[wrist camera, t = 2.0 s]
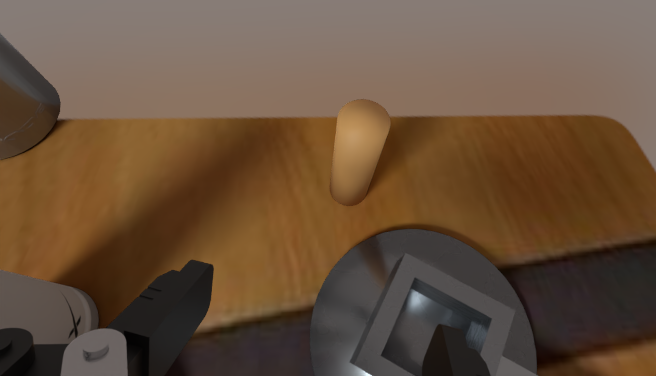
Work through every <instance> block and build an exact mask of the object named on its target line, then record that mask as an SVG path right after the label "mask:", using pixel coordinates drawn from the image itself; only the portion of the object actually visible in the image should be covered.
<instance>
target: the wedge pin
mask: <svg viewBox="0 0 656 376" xmlns="http://www.w3.org/2000/svg"><path fill="white" fill-rule="evenodd" d="M390 124H391V123H390V117H389V115H388V113H387V111H386V110H385V109H384V108H383V107H382V106H381V105H379V104H378V103H376V102H373V101H370V100H364V99H361V100H354V101H351V102H349V103H347V104H346V105H345V106H343V107H342V109H341V110H340V112H339V114H338V119H337V128H336V137H335V145H334V154H333V163H332V172H331V181H330V193H331V195H332V197H333V198H334V200H335V201H337V202H338V203H340V204H342V205H346V206H353V205H356V204H358V203H360V202H361V201H362V200H363V199H364V198H365V196H366V194H367V191H368V188H369V185H370V182H371V180H372V177H373V174H374V171H375V168H376V166H377V163H378V160H379V157H380V154H381V152H382V149H383V146H384V143H385V141H386V138H387V135H388V132H389V129H390Z"/></svg>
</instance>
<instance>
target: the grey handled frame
mask: <svg viewBox="0 0 656 376" xmlns="http://www.w3.org/2000/svg"><path fill="white" fill-rule="evenodd" d="M438 324H442V325H446V326H450V327H454V328H458V329H461V330H462V331H463V333H464V336H465V339H466V343H467V346H468V348H472V349H476V350H477V352H478V353H479V354H480V356H481V357H482V358H483V360H484V361H485V362H486V364H487V366H488V369H489V372H490V375H491V376H538V375H536V374H537V361H536V349H535V343H534V338H533V333H532V330H531V326H530V323H529V320H528V317H527V315H526V313H525V310H524V308H523V305H522V303H521V302H520V300H519V298H518V296H517V294H516V293H515V291H514V289H513V288H512V287H511V285H510V284H509V282H508V281H507V279H506V278H505V277H504V276H503V275H502V274H501V272H500V271H499V270H498V269H497V268H496V267H495V266H494V265H493V264H492V263H491V262H490V261H489V260H488V259H487V258H486V257H484V256H483V255H482V254H480V253H479V252H478V251H476V250H475V249H473V248H472V247H470V246H468V245H467V244H465V243H463V242H461V241H459V240H457V239H455V238H452V237H450V236H447V235H444V234H441V233H438V232H433V231H428V230H420V229H403V230H394V231H389V232H385V233H382V234H379V235H376V236H373V237H371V238H369V239H367V240H365V241H363V242H361V243H360V244H358V245H357V246H355V247H354V248H353V249H351V250H350V251H349V252H348V253H347V254H345V255H344V256H343V257H342V258H341V259H340V260H339V261H338V263H337V264H336V265H335V266H334V267H333V269H332V270H331V272H330V273H329V275H328V276H327V278H326V279H325V281H324V283H323V285H322V287H321V290H320V292H319V294H318V297H317V300H316V303H315V306H314V310H313V315H312V321H311V330H310V350H311V360H312V365H313V371H314V375H315V376H422V365H423V360H424V356H425V354H426V351H427V349H428V346H429V344H430V341H431V339H432V336H433V334H434V331H435V329H436V327H437V325H438Z"/></svg>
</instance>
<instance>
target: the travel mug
mask: <svg viewBox="0 0 656 376" xmlns="http://www.w3.org/2000/svg"><path fill="white" fill-rule="evenodd" d="M98 323H99V317H98V311H97V308H96V305H95V303H94V301H93V300H92V298H91V297H90V296H89V295H88V294H86V293H85V292H84V291H82V290H80V289H77V288H73V287H69V286H65V285H61V284H57V283H53V282H49V281H45V280H41V279H36V278H32V277H28V276H24V275H20V274H16V273H12V272H8V271H3V270H0V329H4V328H22V329H25V330H27V331H29V332H30V333H31V334H32V336H33V342H34V344H70V343H71V342H72V341H73V340H74V339H75V338H77V337H78V336H80V335H82V334H84V333H86V332H89V331H92V330H96V329H98Z"/></svg>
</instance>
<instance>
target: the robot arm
mask: <svg viewBox="0 0 656 376" xmlns="http://www.w3.org/2000/svg"><path fill="white" fill-rule="evenodd" d="M59 112H60V99H59V95H58V93H57V91H56V90H55V88H54V87H53V86H52V85H51V84H50V83H49V82H48V81H47V80H46V79H45V78H44V77H43V76H42V75H41V74H40V73H39V72H38V71H37V70H36V69H35V68H34V67H33V66H32V65H31V64H30V63H29V62H28V61H27V60H26V59H25V58H24V57H23V56H22V55H21V54H20V53H19V52H18V51H17V50H16V49H15V48H14V47H13V46H12V45H11V44H10V43H9V42H8V41H7V40H6V39H5V38H4V37H3V36H2V35H1V34H0V160H1V159H5V158H9V157H12V156H15V155H17V154H19V153H22V152H24V151H26V150H27V149H29V148H31V147H32V146H34V145H35V144H37V143H38V142H39V141H40V140H42V139H43V138H44V137H45V136H46V135H47V134H48V132H49V131H50V130H51V129H52V127H53V126H54V124H55V122H56V121H57V118H58V115H59ZM213 271H214V267H213V265H211V264H208V263H204V262H200V261H196V260H190V261H189V262H188V263H187V264H186V265H185V266H184V267H183V268H182V270H181V271H180V272H179V271H175V270H171V271H169V272H167V273H165V274H163V275H161V276H159V277H157V278H156V279H155V280H154V281H153V282H152V283H151V284H150V285H149V286H148V288H147V289H145V290H144V291H143V292H142V293H141V294H140V296H139V297H137V298H136V299H135V300H134V301H133V302H132V303H131V304H130V305H129V306H128V307H127V308H126V309H125V310H124V311H123V312H122V313H121V314H120V315H119V316H118V317H117V318H116V319H114V320H113V321H112V322H111V323H110V324H109V325H108V326H107V327H106V328H105V329H96V330H92V331H89V332H86V333H84V334H82V335H80V336H78V337H77V338H75V339H74V340H73V341H72V342H71V343H70V344H34V342H33V336H32V334H31V333H30V332H29V331H27V330H25V329H22V328H4V329H0V376H165V374H166V373H167V371H168V370H169V368H170V367H171V365H172V364H173V363H174V361H175V360H176V358H177V357H178V355H179V354H180V352H181V351H182V349H183V348H184V346H185V345H186V344H187V342H188V341H189V339H190V338H191V336H192V335H193V333H194V332H195V330H196V329H197V327H198V326H199V325H200V323H201V322H202V320H203V319H204V317H205V315H206V313H207V311H208V308H209V305H210V301H211V292H212V281H213ZM422 376H491V375H490V372H489V369H488V366H487V364H486V362H485V361H484V360H483V358H482V357H481V356H480V354H479V353H478V352H477V350H476V349H472V348H468V346H467V343H466V339H465V336H464V333H463V331H462V330H461V329H458V328H454V327H450V326H446V325H442V324H438V325H437V327H436V329H435V331H434V334H433V336H432V339H431V341H430V344H429V346H428V349H427V351H426V354H425V356H424V360H423V365H422Z"/></svg>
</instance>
